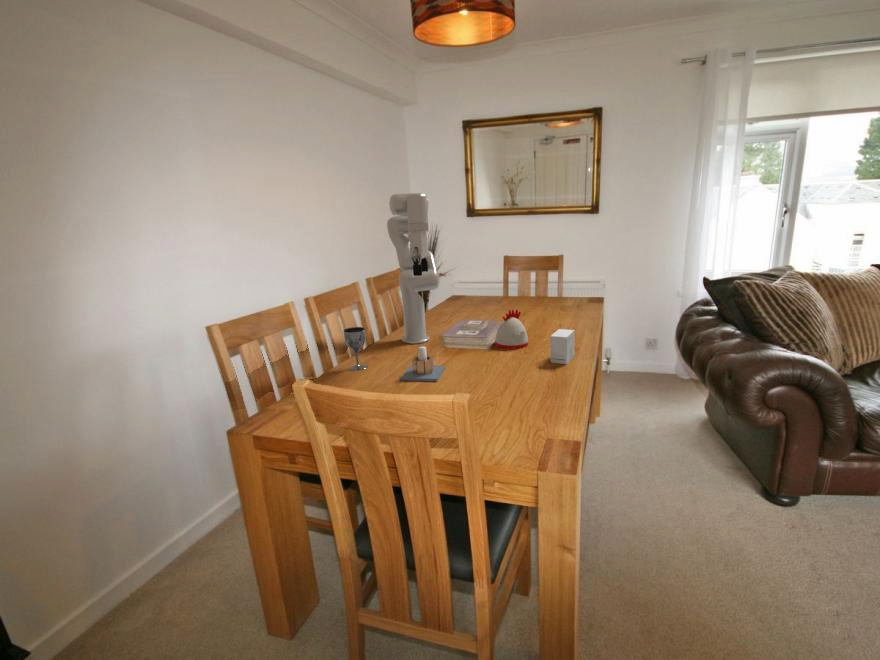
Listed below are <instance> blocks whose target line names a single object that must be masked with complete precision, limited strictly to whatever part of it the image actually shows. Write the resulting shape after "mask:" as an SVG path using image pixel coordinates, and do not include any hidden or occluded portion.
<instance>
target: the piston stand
mask: <svg viewBox="0 0 880 660" xmlns="http://www.w3.org/2000/svg"><path fill="white" fill-rule="evenodd" d="M417 356H418V360H419V361H425V360H427V347H426V346H419V347H417ZM433 367H434V371H433V373H431V374H428V375H416V374H414V373H413V364H410V366H409V367H408V368H407V369H406V371H405V372H404V373H403V374H402V376H401V377H400V381H404V380H407V382H433V381H438V382H439V380H440V379H441V376H442V375H441V374H443V373H444V371H445V369H446V366H445V365H433Z"/></svg>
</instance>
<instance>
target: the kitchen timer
mask: <svg viewBox="0 0 880 660" xmlns="http://www.w3.org/2000/svg"><path fill="white" fill-rule="evenodd" d="M521 313H522V312H521V311H519V310H518V309H517V308H516V309H515V310H514V309H509V310H508V313H507V312H505V316H503V315H502V319H503V321H502V322H501V323H500V325H499V326H498V328H497V330H496V334H495V338H494V345H495V347H497V348H499V349H503V348H505V349H504V350H518V349H519V348H521V349H524V348H526V347H528V346H529V337H528V333H527V330H526V328H525V326H524V324H523V323H522V321H521V320H519V317H520V316H521ZM519 350H520V349H519Z"/></svg>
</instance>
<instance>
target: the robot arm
mask: <svg viewBox="0 0 880 660" xmlns="http://www.w3.org/2000/svg"><path fill="white" fill-rule="evenodd" d="M388 204H389V210H390V213H391V214H392V215H393V216H392V217H390V218H389V219H388V220H387V221H386V222H387V224H386V226H387V229H386V230H387V234H388V236H389V239H390V241H391V242H392V245H393V246H394V248H395V251H396V257H397V262H398V265H399V268H400V270H401V272H400V273H399V274H398V275H399V276H398V283H399V284H398V285H399V289H400V292H401V299H402V300H401V301H402V312H403V327H404V330H403V331H404V336H402V337H401V342H402V343H405V344H411V345H412V344H413V345H414V344H422V343H425V342H428V341H430V335H429V334H427V330H426V312H425V310H426V309H425V301H424V299H423V297H422V296H421V295H420V294H419V293H418V292H424V291H433V290H437V289H438V288H439V285H440V276H439V272H438V268H437V264H436V260H435V256H434V254H433V252H432V251H431V250H429V248H428V236H427V232H429V216H428V212H429V198H428V197H427V195H426V193H423V192H417V193H416V192H413V193H412V192H411V193H409V192H408V193H396V194H392V195H390V198H389V203H388ZM407 235H409V237H407Z"/></svg>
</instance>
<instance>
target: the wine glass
mask: <svg viewBox="0 0 880 660" xmlns="http://www.w3.org/2000/svg"><path fill="white" fill-rule="evenodd" d="M343 336H344V337H343V338H344V343H345V344H346V346H348V348H349V349H350V350H352V352H353V353H354V356H355V361H356V364H354V365H350V366H349V367H348V370H349V371H353V372H357V371H358V372H359V371H363V370H366V369H367V368H368V365H367V364H364V363H359V353H360V351H361V349H362V348H363V346H364V345H365V343H366V328H365V327H362V326H352V327H346V328H345V329H343Z"/></svg>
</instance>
